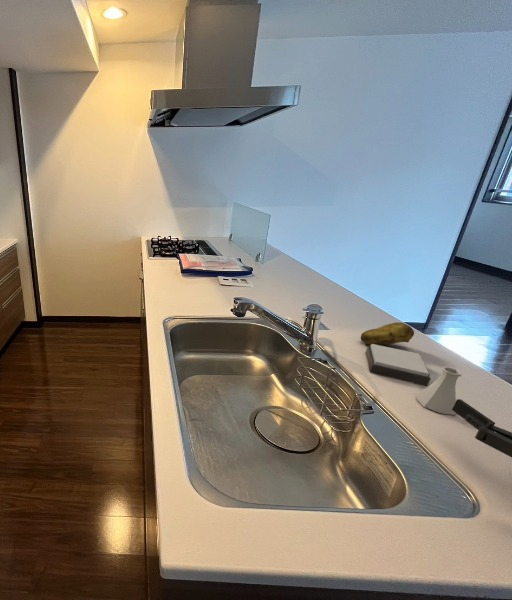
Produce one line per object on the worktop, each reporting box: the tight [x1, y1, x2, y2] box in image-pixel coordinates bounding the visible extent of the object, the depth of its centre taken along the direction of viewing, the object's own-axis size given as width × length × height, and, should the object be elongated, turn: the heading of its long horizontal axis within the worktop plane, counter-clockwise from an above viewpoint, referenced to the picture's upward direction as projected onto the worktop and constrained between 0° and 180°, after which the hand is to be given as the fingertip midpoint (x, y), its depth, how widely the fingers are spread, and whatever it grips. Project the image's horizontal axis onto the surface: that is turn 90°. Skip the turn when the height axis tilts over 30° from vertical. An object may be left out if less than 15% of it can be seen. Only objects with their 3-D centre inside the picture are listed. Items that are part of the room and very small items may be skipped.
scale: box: [365, 344, 432, 387], centre depth 90 cm, size 13×12×4 cm
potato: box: [360, 322, 415, 346], centre depth 100 cm, size 8×13×8 cm, turn 62°
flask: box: [416, 365, 463, 416], centre depth 75 cm, size 7×7×10 cm
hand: (489, 404), depth 65 cm, fingers open, 13 cm apart
